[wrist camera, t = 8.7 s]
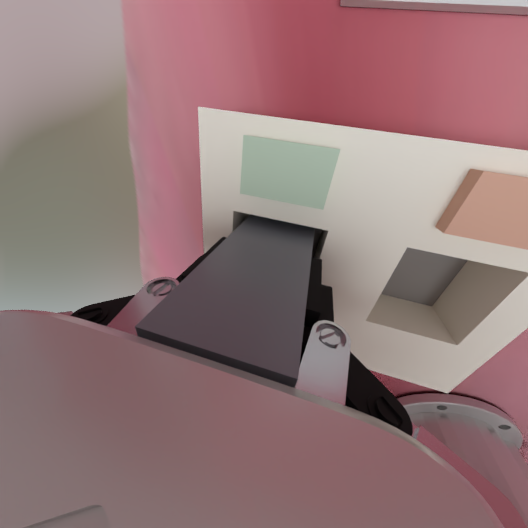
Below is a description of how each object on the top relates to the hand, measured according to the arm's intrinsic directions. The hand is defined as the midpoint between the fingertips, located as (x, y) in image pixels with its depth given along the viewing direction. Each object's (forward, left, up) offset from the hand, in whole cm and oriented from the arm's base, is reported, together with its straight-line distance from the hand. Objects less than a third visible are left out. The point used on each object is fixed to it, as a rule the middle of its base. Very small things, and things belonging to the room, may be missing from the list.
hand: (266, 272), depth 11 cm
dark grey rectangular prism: (0, 0, -3) cm, 3 cm away
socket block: (-5, 0, -6) cm, 8 cm away
